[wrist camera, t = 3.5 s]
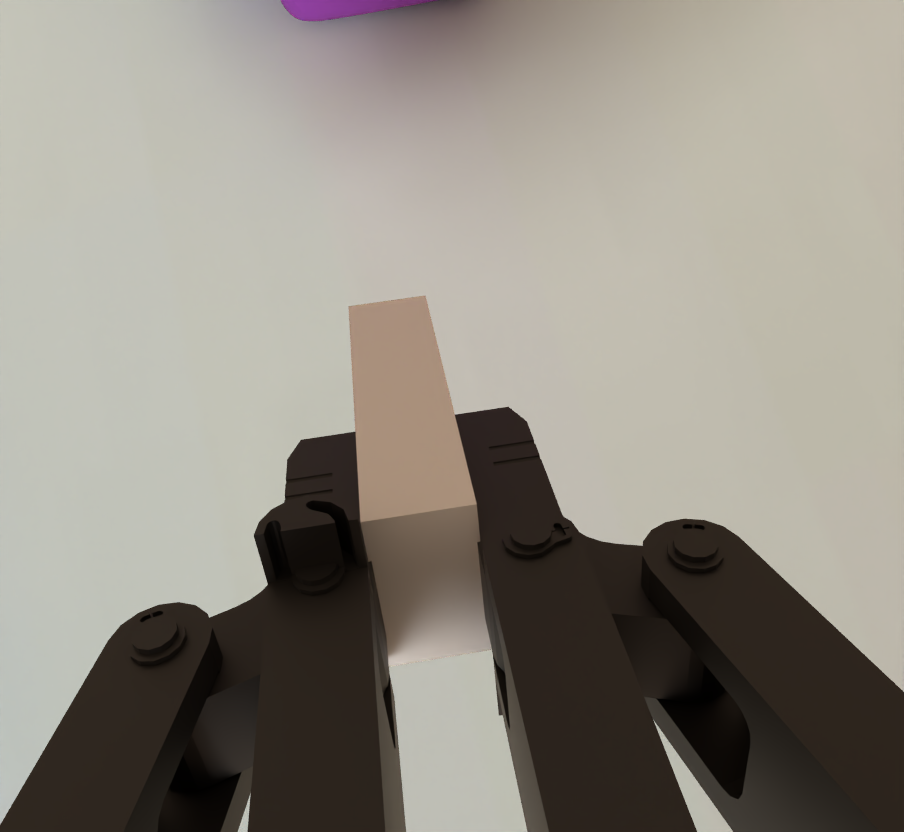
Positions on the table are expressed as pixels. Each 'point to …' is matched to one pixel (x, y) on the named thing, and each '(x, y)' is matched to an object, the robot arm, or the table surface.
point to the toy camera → (341, 7)
